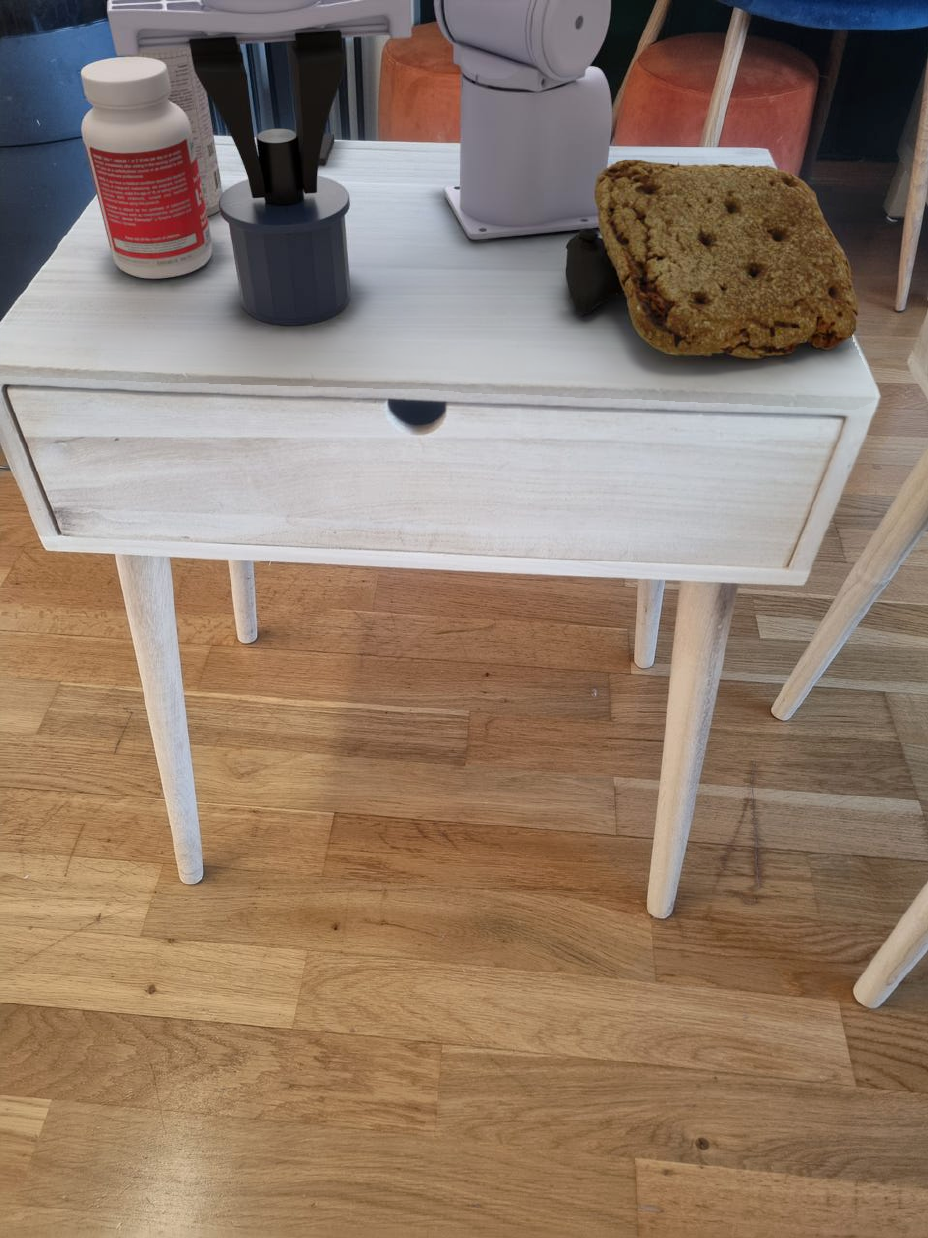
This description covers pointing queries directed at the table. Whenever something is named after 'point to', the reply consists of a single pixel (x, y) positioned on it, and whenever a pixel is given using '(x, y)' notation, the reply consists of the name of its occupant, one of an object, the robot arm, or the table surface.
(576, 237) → the gaming controller
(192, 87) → the container
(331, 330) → the table surface
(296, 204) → the lid
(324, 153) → the coaster
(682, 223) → the pastry
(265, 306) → the tin
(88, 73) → the pill bottle
